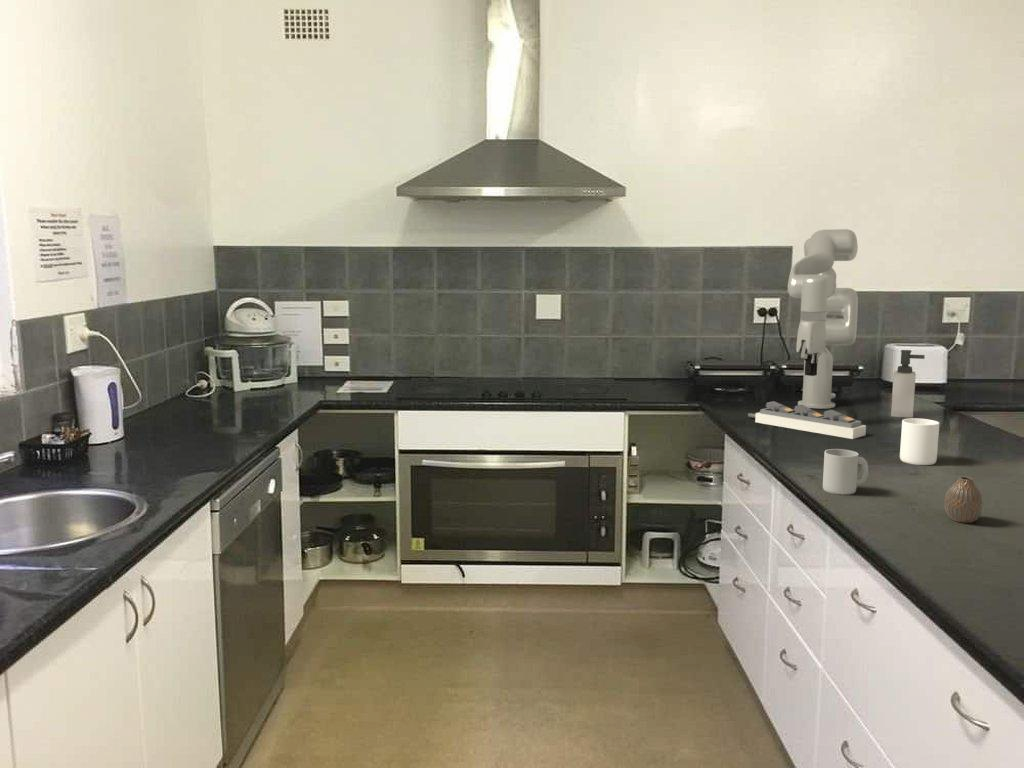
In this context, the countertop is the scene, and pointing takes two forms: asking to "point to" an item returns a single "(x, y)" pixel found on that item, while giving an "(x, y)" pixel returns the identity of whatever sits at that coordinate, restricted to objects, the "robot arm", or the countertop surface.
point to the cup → (843, 471)
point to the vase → (964, 501)
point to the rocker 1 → (779, 407)
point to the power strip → (810, 423)
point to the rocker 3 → (838, 416)
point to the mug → (919, 441)
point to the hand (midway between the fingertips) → (810, 375)
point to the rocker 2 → (807, 411)
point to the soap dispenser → (904, 386)
